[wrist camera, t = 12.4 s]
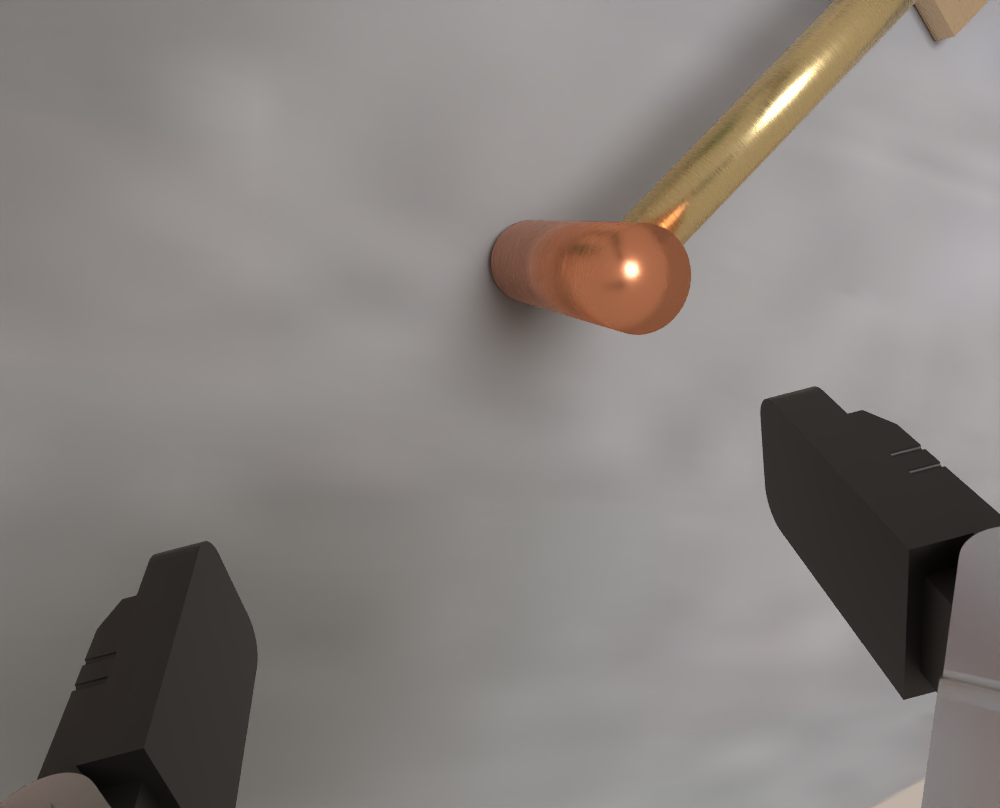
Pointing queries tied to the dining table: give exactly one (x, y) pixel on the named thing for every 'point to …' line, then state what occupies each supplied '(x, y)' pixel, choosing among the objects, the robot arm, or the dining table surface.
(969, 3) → the slotted upright stand
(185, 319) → the dining table surface
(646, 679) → the dining table surface
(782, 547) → the dining table surface
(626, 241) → the copper and brass hammer
